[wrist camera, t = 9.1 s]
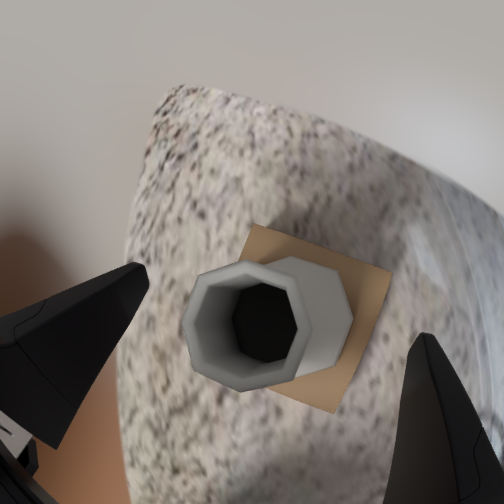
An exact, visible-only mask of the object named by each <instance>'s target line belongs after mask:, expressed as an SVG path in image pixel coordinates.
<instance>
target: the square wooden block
mask: <svg viewBox="0 0 504 504" xmlns="http://www.w3.org/2000/svg"><path fill="white" fill-rule="evenodd" d="M289 256H294V257H297V258H300V259H303V260H307V261H310V262H313V263H316V264H319V265H322V266H325V267H328V268H331V269H334V270H338V272H339V275H340V278H341V281H342V284H343V287H344V290H345V293H346V296H347V299H348V302H349V305H350V309H351V312H352V315H353V318H354V319H353V322H352V325H351V327H350V330H349V333H348V336H347V338H346V341H345V343H344V346H343V349H342V351H341V354H340V356H339V359H338V361H337V364H336V366H334V367H331V368H328V369H325V370H322V371H318V372H315V373H311V374H308V375H304V376H301V377H297V378H294V379H293V381H289V382H286V383H281V384H277V385H273V386H269V387H265V388H268V389H270V390H272V391H275V392H277V393H280V394H282V395H284V396H287V397H289V398H292V399H294V400H297V401H300V402H302V403H305V404H307V405H310V406H313V407H316V408H318V409H321V410H324V411H327V412H330V413H333V414H334V412H335V411H336V409H337V407H338V405H339V403H340V401H341V399H342V397H343V395H344V393H345V391H346V389H347V387H348V385H349V383H350V381H351V379H352V377H353V375H354V373H355V370H356V368H357V366H358V364H359V362H360V359H361V357H362V355H363V352H364V350H365V348H366V345H367V343H368V341H369V338H370V336H371V333H372V331H373V328H374V326H375V323H376V320H377V318H378V315H379V312H380V310H381V307H382V304H383V301H384V298H385V295H386V293H387V290H388V287H389V283H390V280H391V277H392V274H393V273H392V272H389V271H386V270H384V269H381V268H378V267H376V266H373V265H370V264H368V263H365V262H362V261H360V260H357V259H354V258H351V257H349V256H346V255H343V254H341V253H338V252H335V251H332V250H329V249H327V248H324V247H321V246H318V245H316V244H313V243H310V242H307V241H304V240H301V239H299V238H296V237H293V236H290V235H287V234H284V233H281V232H278V231H275V230H273V229H270V228H267V227H264V226H261V225H258V224H255V223H254V224H253V226H252V229H251V231H250V234H249V236H248V238H247V241H246V243H245V246H244V248H243V251H242V253H241V256H240V258H239V260H238V261H241V260H244V259H247V260H250V261H253V262H256V263H259V264H262V265H265V264H268V263H271V262H274V261H277V260H280V259H283V258H286V257H289Z"/></svg>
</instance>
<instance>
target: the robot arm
mask: <svg viewBox="0 0 504 504" xmlns="http://www.w3.org/2000/svg"><path fill="white" fill-rule="evenodd" d="M148 289H149V279H148V276H147V272H146V268H145V266H144V265H143V264H140V263H137V262H132V263H129V264H127V265H124V266H122V267H119V268H117V269H115V270H112V271H110V272H107V273H105V274H102V275H100V276H98V277H95V278H93V279H90V280H88V281H86V282H84V283H81V284H79V285H76V286H74V287H72V288H69V289H67V290H65V291H62V292H60V293H58V294H56V295H53V296H51V297H49V298H46V299H44V300H42V301H40V302H38V303H35V304H33V305H30V306H28V307H25V308H23V309H20V310H17V311H15V312H12V313H9V314H7V315H4V316H1V317H0V504H59V503H58V502H57V501H56V500H55V499H54V498H53V497H51V496H50V495H49V494H48V493H47V492H46V491H45V490H44V489H43V488H42V487H41V486H40V485H39V484H38V483H37V482H36V481H35V480H34V479H33V478H32V476H33V475H34V473H35V472H36V470H37V469H38V467H39V465H38V459H37V450H36V441H35V440H34V439H33V436H35V437H36V438H38V439H39V440H41V441H42V442H44V443H45V444H47V445H49V446H50V447H52V448H53V449H55V450H57V448H58V447H59V445H60V443H61V441H62V439H63V437H64V435H65V433H66V431H67V429H68V428H69V426H70V424H71V422H72V420H73V418H74V416H75V415H76V413H77V411H78V409H79V407H80V405H81V404H82V402H83V400H84V398H85V397H86V395H87V393H88V391H89V390H90V388H91V386H92V384H93V383H94V381H95V379H96V378H97V376H98V374H99V372H100V371H101V369H102V368H103V366H104V364H105V363H106V361H107V359H108V358H109V356H110V355H111V353H112V351H113V350H114V348H115V347H116V345H117V343H118V342H119V340H120V339H121V337H122V335H123V334H124V332H125V331H126V329H127V328H128V326H129V324H130V323H131V321H132V319H133V317H134V315H135V313H136V311H137V310H138V308H139V306H140V304H141V302H142V300H143V298H144V296H145V294H146V293H147V291H148ZM383 504H504V471H503V469H502V467H501V465H500V463H499V460H498V458H497V456H496V454H495V452H494V450H493V448H492V445H491V443H490V441H489V439H488V437H487V434H486V432H485V430H484V427H482V423H481V421H480V419H479V417H478V414H477V412H476V410H475V408H474V406H473V404H472V402H471V400H470V398H469V396H468V394H467V392H466V390H465V388H464V386H463V385H462V383H461V381H460V379H459V377H458V375H457V374H456V372H455V370H454V368H453V366H452V365H451V363H450V361H449V359H448V358H447V356H446V354H445V353H444V351H443V349H442V348H441V346H440V344H439V343H438V341H437V339H436V338H435V336H434V335H433V334H430V333H424V332H422V333H420V334H419V335H418V337H417V338H416V340H415V342H414V343H413V345H412V346H411V348H410V350H409V352H408V356H407V363H406V370H405V376H404V382H403V388H402V394H401V400H400V408H399V418H398V427H397V434H396V441H395V448H394V454H393V460H392V465H391V470H390V475H389V480H388V484H387V489H386V493H385V497H384V501H383Z"/></svg>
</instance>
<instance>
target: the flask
mask: <svg viewBox="0 0 504 504" xmlns="http://www.w3.org/2000/svg"><path fill="white" fill-rule="evenodd" d="M353 319H354V318H353V315H352V312H351V309H350V305H349V302H348V299H347V296H346V293H345V290H344V287H343V284H342V281H341V278H340V275H339V272H338V270H334V269H331V268H328V267H325V266H322V265H319V264H316V263H313V262H310V261H307V260H303V259H300V258H297V257H294V256H289V257H286V258H283V259H280V260H277V261H274V262H271V263H268V264H265V265H262V264H259V263H256V262H253V261H250V260H247V259H244V260H241V261H238V262H235V263H232V264H229V265H227V266H224V267H221V268H218V269H215V270H212V271H209V272H206V273H203V274H200V275H198V277H197V280H196V282H195V285H194V288H193V291H192V293H191V296H190V299H189V302H188V305H187V307H186V310H185V313H184V316H183V319H182V322H181V323H182V327H183V331H184V335H185V339H186V343H187V346H188V350H189V354H190V357H191V361H192V365H193V368H194V371H196V372H198V373H200V374H202V375H204V376H206V377H208V378H210V379H212V380H214V381H216V382H218V383H220V384H223V385H225V386H227V387H229V388H231V389H234V390H236V391H238V392H245V391H250V390H255V389H260V388H264V387H269V386H273V385H277V384H281V383H286V382H289V381H293V379H294V378H297V377H301V376H304V375H308V374H311V373H315V372H318V371H322V370H325V369H328V368H331V367H334V366H336V364H337V361H338V359H339V356H340V354H341V351H342V349H343V346H344V343H345V341H346V338H347V336H348V333H349V330H350V327H351V325H352V322H353Z"/></svg>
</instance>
